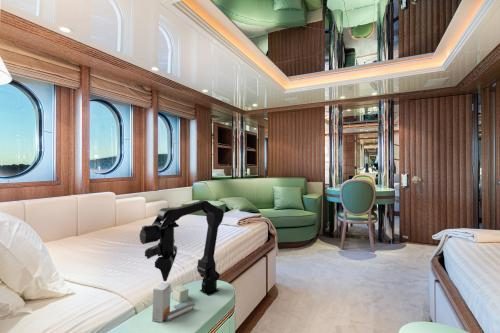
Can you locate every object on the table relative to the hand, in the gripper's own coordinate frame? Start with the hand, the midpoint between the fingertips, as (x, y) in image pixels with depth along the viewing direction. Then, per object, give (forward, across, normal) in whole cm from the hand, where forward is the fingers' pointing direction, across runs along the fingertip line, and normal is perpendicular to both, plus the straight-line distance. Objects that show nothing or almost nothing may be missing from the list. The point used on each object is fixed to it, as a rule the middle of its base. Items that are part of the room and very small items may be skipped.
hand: (167, 276), depth 107 cm
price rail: (+13, +6, +6) cm, 16 cm away
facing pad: (+13, 0, +7) cm, 15 cm away
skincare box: (+13, +7, -1) cm, 15 cm away
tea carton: (+13, -6, +5) cm, 15 cm away
